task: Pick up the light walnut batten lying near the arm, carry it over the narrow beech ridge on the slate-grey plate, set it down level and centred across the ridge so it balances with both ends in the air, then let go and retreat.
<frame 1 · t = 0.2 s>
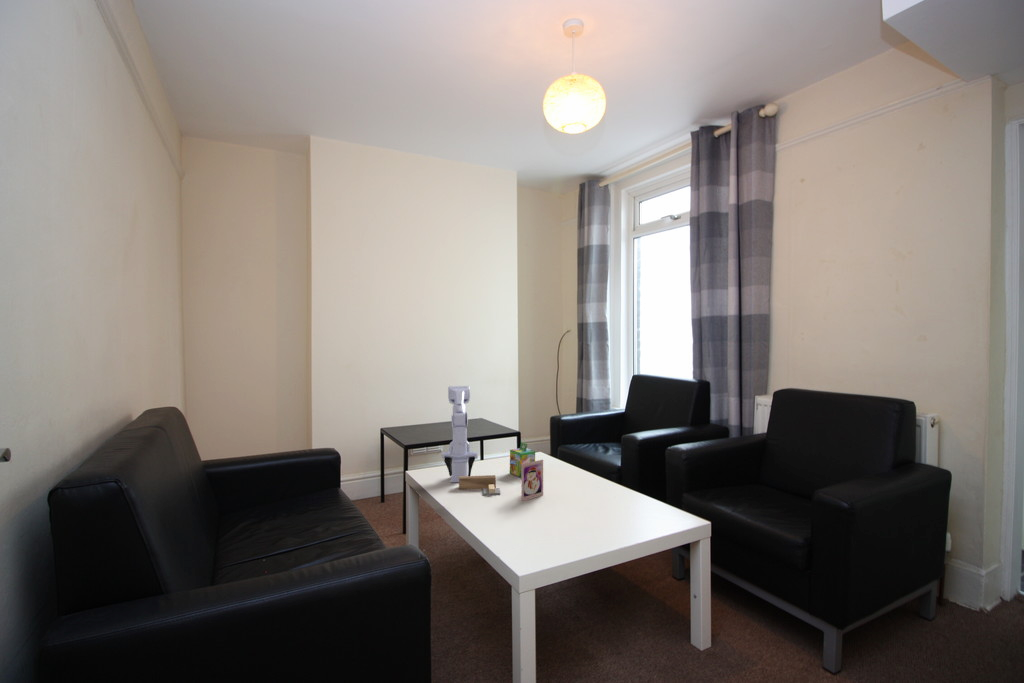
hand: (460, 475, 190), 10 cm above the table, fingers open, 7 cm apart
chalk box: (522, 474, 225), on the table
batten: (477, 488, 205), on the table
fulcrum: (491, 492, 199), on the table
greeting card: (528, 496, 194), on the table
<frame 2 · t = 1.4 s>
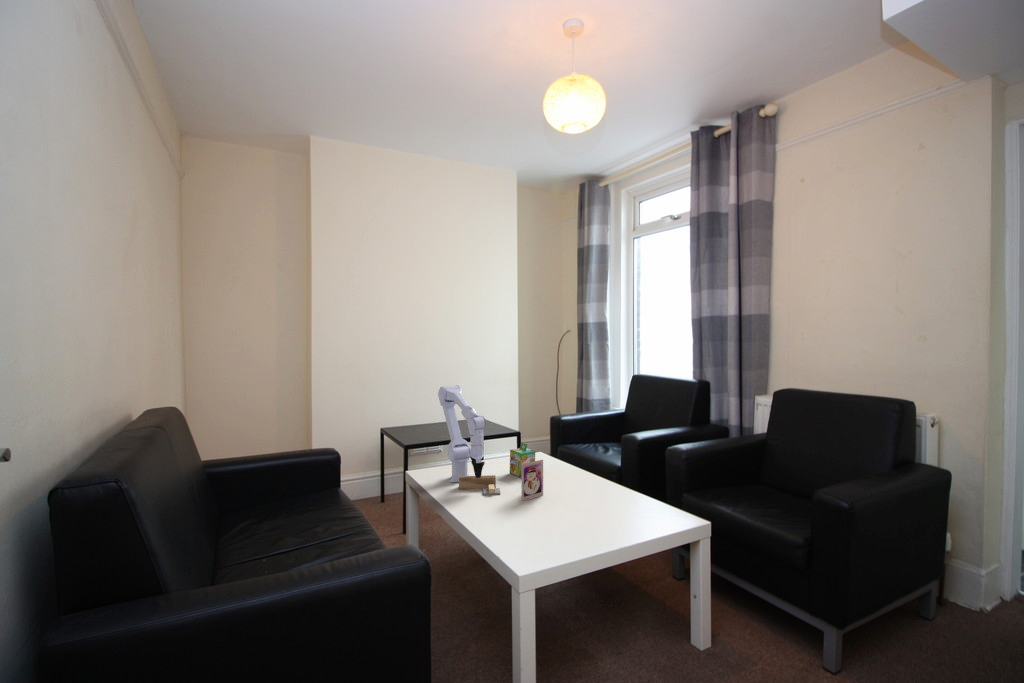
hand: (477, 475, 205), 6 cm above the table, fingers open, 7 cm apart
nothing on the table moved.
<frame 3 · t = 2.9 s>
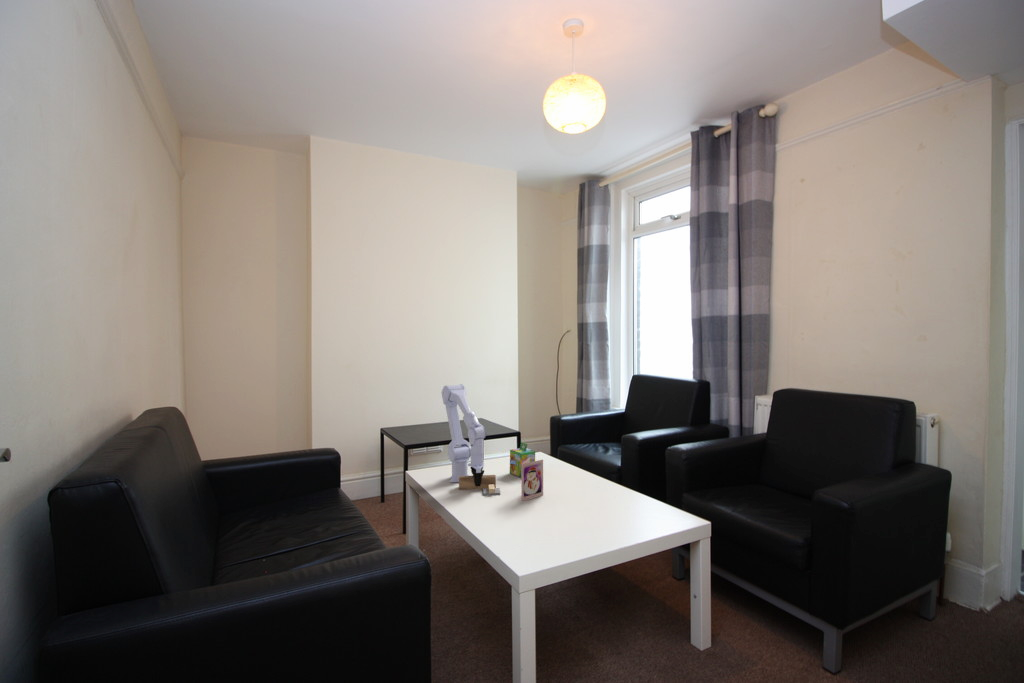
hand: (477, 484, 205), 1 cm above the table, fingers closed on batten, 4 cm apart
batten: (477, 487, 205), on the table, touching gripper
everything else where it was.
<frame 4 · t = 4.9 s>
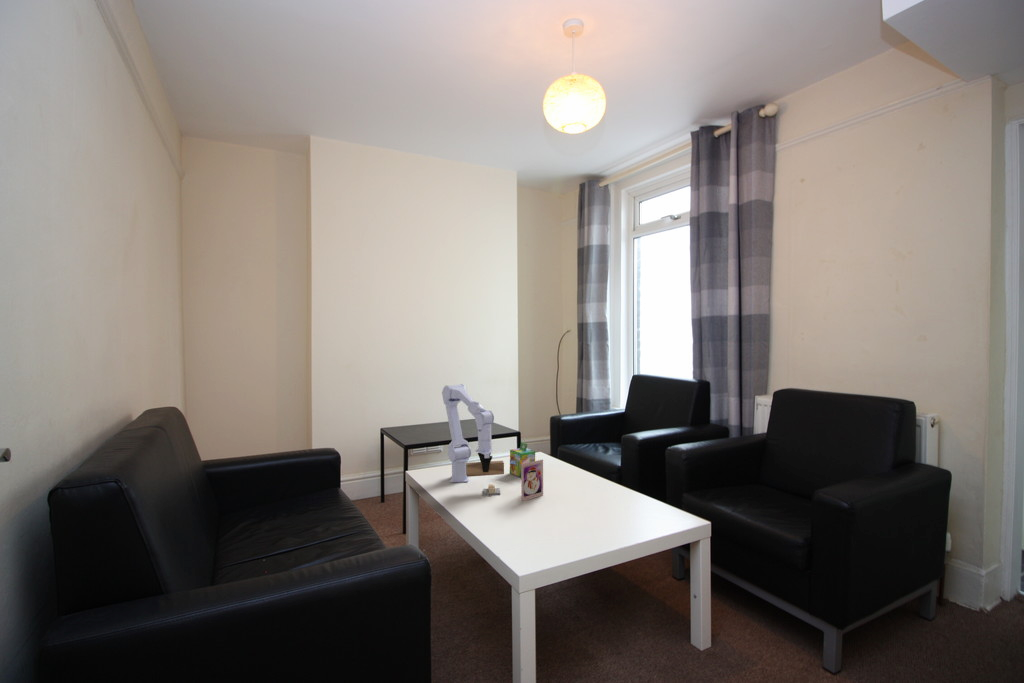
hand: (485, 470, 201), 9 cm above the table, fingers closed on batten, 3 cm apart
batten: (485, 474, 201), point 7 cm above the table, touching gripper
everything else where it was.
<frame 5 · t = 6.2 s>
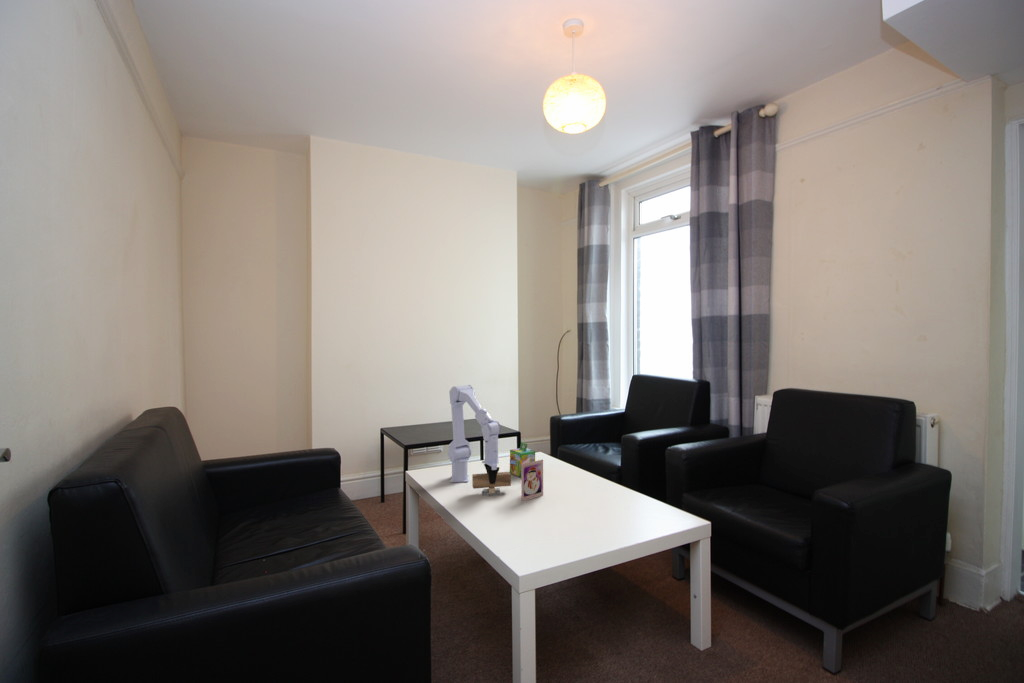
hand: (491, 482, 199), 4 cm above the table, fingers closed on batten, 3 cm apart
batten: (491, 485, 199), point 3 cm above the table, touching gripper
everything else where it was.
when the fingers open (4 cm above the table, at t = 6.9 s): batten stays where it is, resting on fulcrum.
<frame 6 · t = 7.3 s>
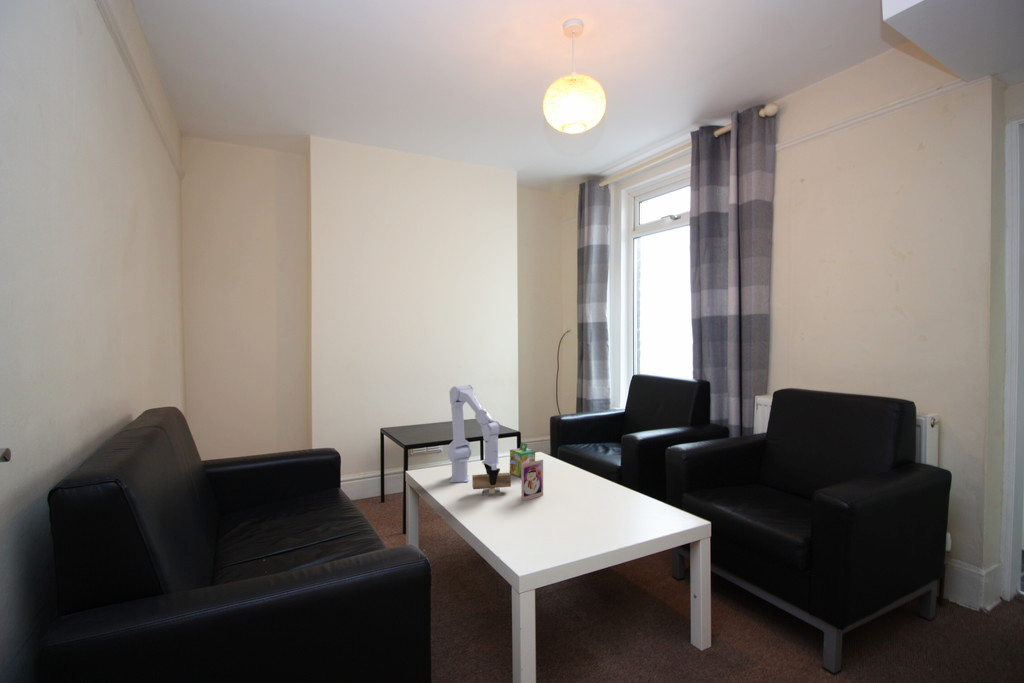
hand: (491, 482, 199), 4 cm above the table, fingers open, 7 cm apart
batten: (491, 486, 199), point 2 cm above the table, touching fulcrum
everything else where it was.
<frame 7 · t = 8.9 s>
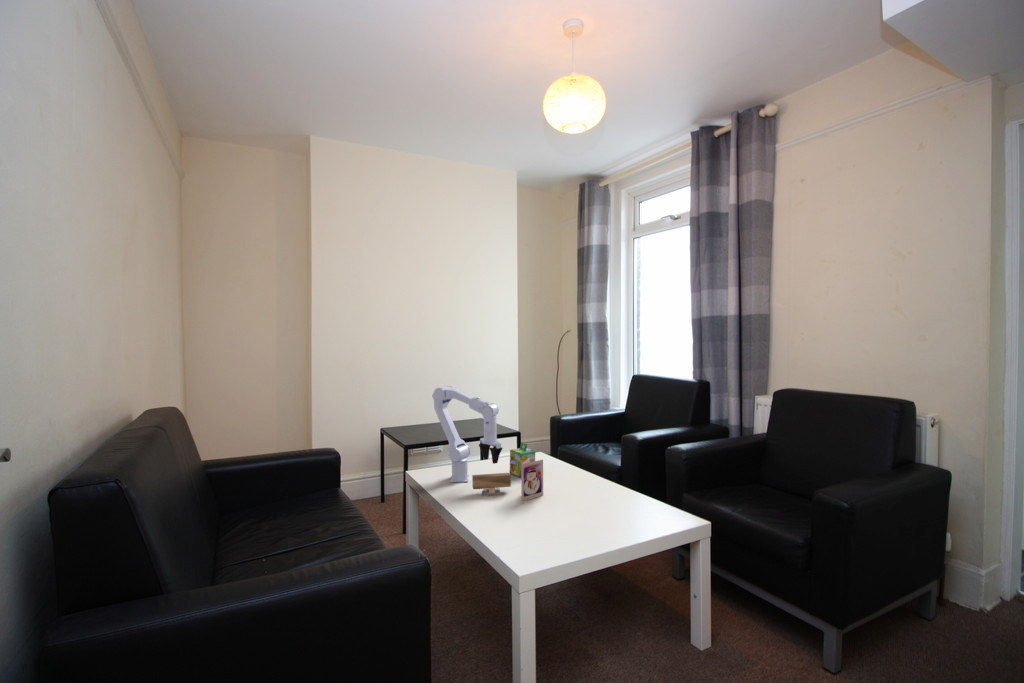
hand: (490, 461, 210), 10 cm above the table, fingers open, 7 cm apart
nothing on the table moved.
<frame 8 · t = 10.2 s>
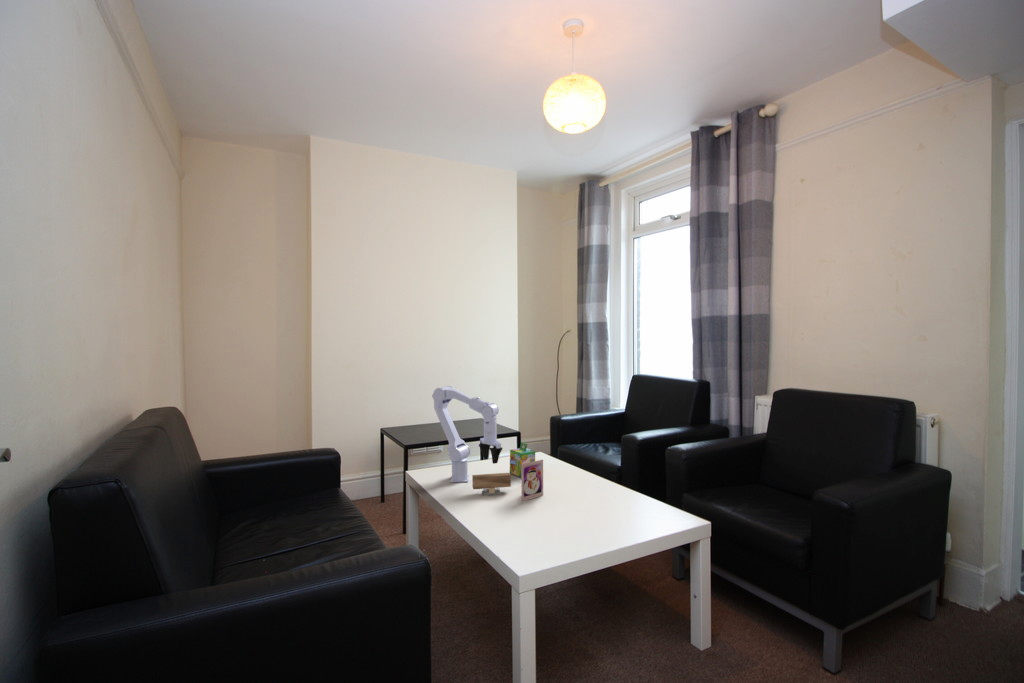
hand: (490, 461, 210), 10 cm above the table, fingers open, 7 cm apart
nothing on the table moved.
at the end: batten 0.0 cm off-centre on the fulcrum, point 2.5 cm above the fulcrum's base; batten tilted 0°; batten touching fulcrum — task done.
